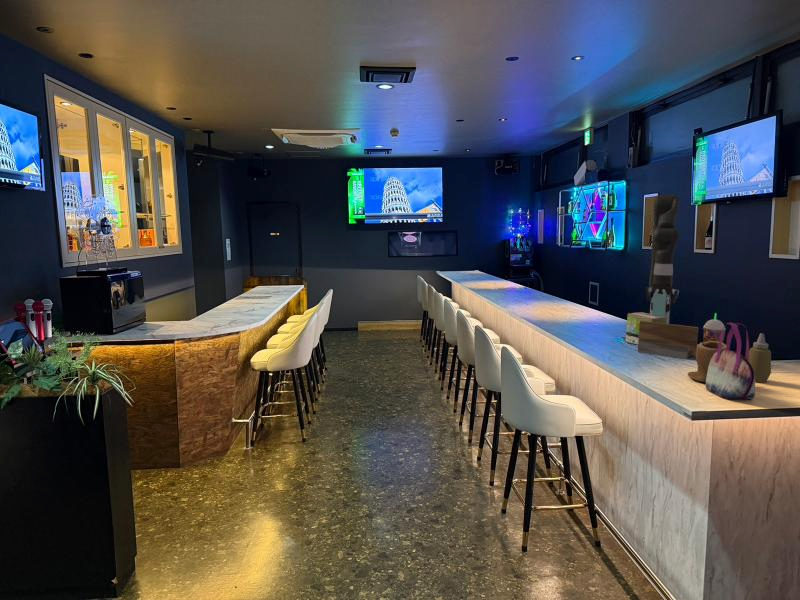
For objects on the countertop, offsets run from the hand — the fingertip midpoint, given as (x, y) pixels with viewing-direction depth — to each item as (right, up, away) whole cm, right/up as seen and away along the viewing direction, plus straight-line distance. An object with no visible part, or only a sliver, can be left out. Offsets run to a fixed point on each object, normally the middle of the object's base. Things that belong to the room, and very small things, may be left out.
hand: (660, 311), depth 235 cm
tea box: (+3, -17, +22) cm, 28 cm away
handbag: (-4, -28, -54) cm, 61 cm away
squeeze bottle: (+17, -25, -38) cm, 49 cm away
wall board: (+3, -19, +3) cm, 20 cm away
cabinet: (0, -2, 0) cm, 2 cm away
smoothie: (+20, -21, -5) cm, 29 cm away
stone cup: (0, -25, -39) cm, 47 cm away
